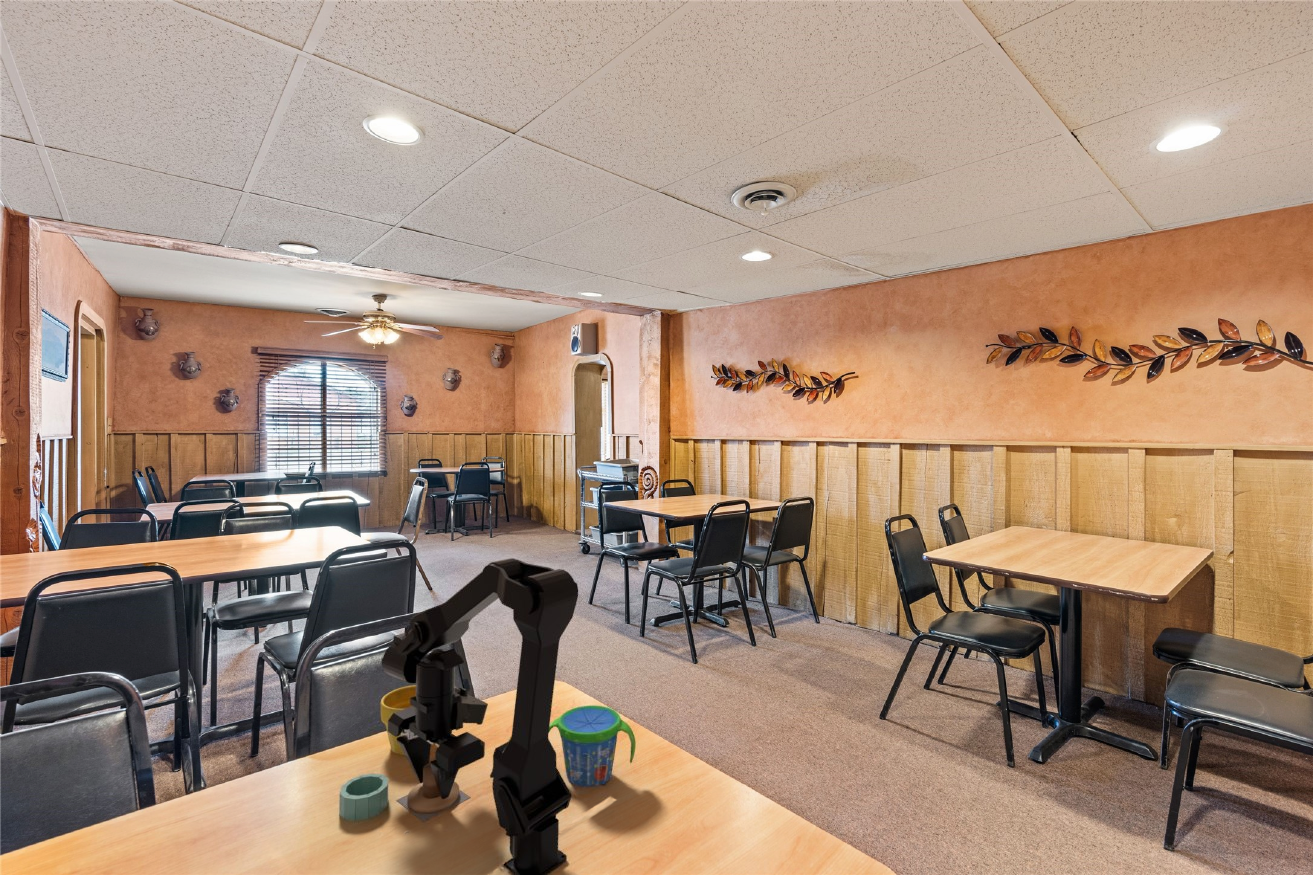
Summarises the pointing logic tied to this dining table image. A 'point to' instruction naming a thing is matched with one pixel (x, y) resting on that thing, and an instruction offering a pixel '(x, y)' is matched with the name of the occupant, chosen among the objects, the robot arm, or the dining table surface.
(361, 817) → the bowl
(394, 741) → the plant pot
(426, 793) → the lid
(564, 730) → the snack cup
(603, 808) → the dining table surface
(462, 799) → the mat
